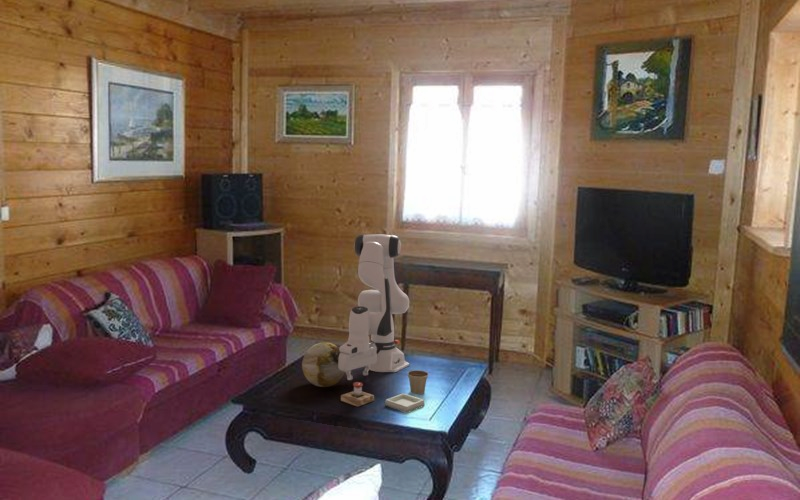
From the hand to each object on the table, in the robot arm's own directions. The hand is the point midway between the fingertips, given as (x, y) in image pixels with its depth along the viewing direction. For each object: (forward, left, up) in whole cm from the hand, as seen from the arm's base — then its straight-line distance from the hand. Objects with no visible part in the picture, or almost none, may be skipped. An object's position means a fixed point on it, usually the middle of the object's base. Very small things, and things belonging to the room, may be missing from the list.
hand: (357, 377), depth 287 cm
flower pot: (-27, +11, -11) cm, 31 cm away
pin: (0, 0, -10) cm, 10 cm away
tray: (-10, +18, -10) cm, 23 cm away
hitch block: (0, 0, -10) cm, 10 cm away
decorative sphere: (-3, -24, -11) cm, 27 cm away
